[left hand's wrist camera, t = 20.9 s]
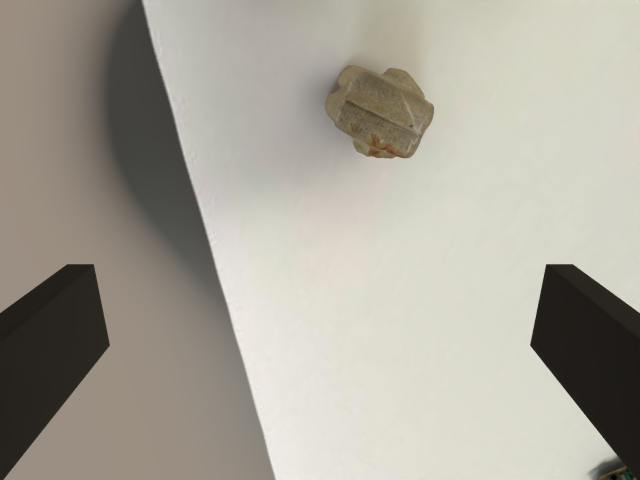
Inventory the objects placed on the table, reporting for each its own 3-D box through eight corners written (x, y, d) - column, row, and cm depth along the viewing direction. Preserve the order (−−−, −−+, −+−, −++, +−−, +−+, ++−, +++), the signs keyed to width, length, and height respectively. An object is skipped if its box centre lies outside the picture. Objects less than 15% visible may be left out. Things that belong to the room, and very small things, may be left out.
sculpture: (351, 52, 35) (371, 33, 21) (423, 97, 37) (488, 108, 23) (316, 116, 37) (314, 137, 23) (386, 157, 38) (425, 201, 24)
